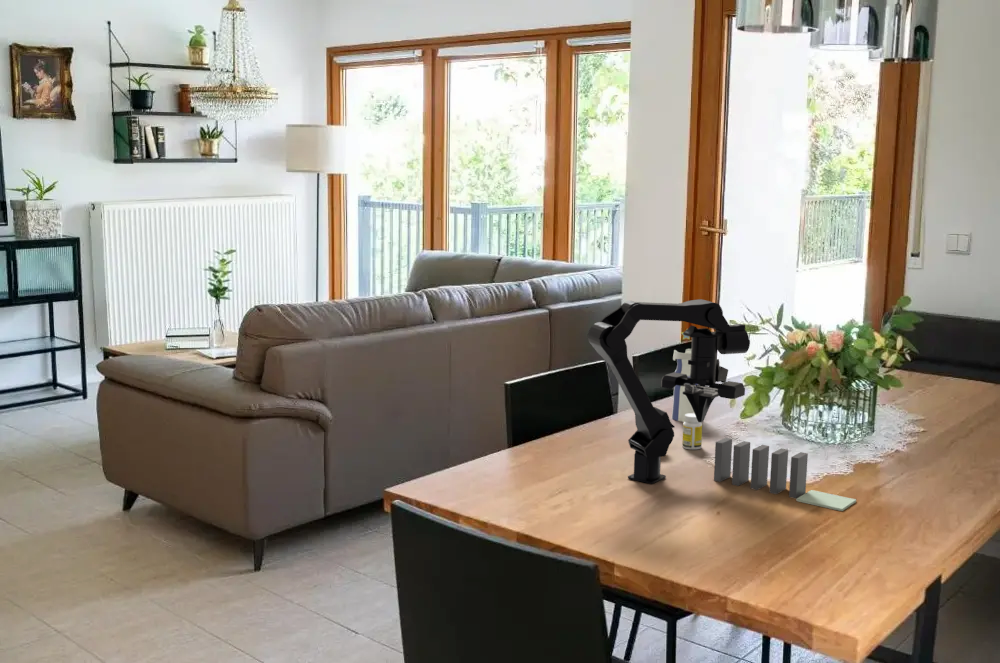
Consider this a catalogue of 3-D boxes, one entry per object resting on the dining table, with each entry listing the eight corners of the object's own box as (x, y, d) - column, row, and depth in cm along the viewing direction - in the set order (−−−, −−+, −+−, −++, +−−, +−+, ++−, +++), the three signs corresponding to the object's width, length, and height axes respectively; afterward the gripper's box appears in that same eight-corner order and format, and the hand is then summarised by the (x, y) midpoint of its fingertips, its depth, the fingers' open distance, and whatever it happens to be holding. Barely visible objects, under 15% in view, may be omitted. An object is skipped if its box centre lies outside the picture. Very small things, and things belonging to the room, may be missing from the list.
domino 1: (730, 476, 239) (732, 438, 238) (720, 481, 235) (722, 443, 234) (724, 475, 240) (725, 437, 239) (713, 480, 236) (715, 442, 235)
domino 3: (767, 484, 234) (769, 446, 232) (757, 490, 230) (759, 450, 228) (760, 483, 235) (762, 444, 233) (750, 488, 231) (752, 449, 229)
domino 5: (805, 493, 228) (807, 453, 227) (796, 498, 224) (798, 458, 223) (798, 491, 229) (800, 452, 228) (788, 497, 225) (791, 457, 224)
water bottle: (663, 416, 294) (666, 329, 290) (688, 413, 298) (692, 327, 294) (680, 423, 287) (683, 334, 283) (705, 420, 290) (709, 332, 286)
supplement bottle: (700, 445, 265) (701, 413, 264) (702, 450, 261) (703, 417, 259) (681, 444, 266) (682, 412, 264) (682, 449, 261) (684, 417, 260)
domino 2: (748, 480, 236) (750, 442, 235) (738, 485, 233) (740, 446, 231) (742, 479, 237) (743, 441, 236) (731, 484, 234) (733, 445, 232)
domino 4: (785, 488, 231) (788, 449, 229) (776, 494, 227) (778, 454, 226) (779, 487, 232) (781, 448, 230) (769, 492, 228) (771, 453, 227)
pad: (842, 511, 216) (842, 509, 216) (796, 500, 223) (796, 498, 223) (856, 501, 223) (856, 499, 222) (811, 492, 229) (811, 489, 229)
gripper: (757, 355, 237) (753, 422, 240) (685, 345, 249) (682, 409, 251) (735, 362, 229) (731, 431, 231) (661, 351, 240) (658, 417, 243)
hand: (700, 421), depth 239 cm, fingers closed
